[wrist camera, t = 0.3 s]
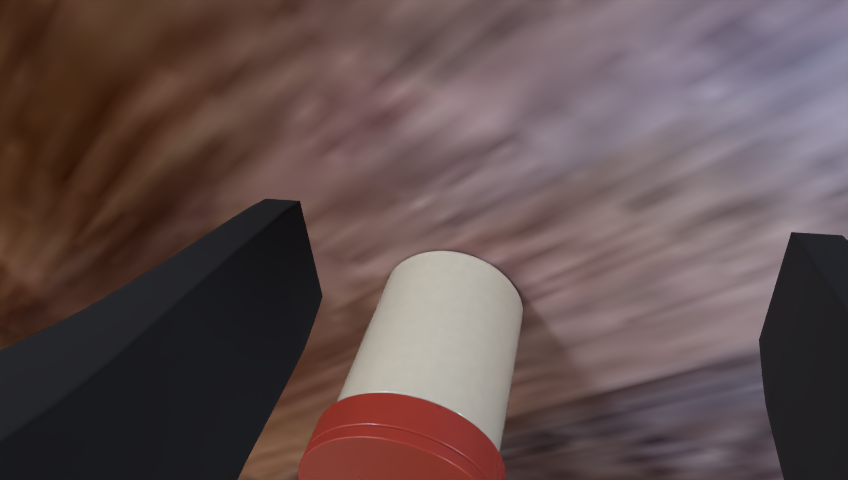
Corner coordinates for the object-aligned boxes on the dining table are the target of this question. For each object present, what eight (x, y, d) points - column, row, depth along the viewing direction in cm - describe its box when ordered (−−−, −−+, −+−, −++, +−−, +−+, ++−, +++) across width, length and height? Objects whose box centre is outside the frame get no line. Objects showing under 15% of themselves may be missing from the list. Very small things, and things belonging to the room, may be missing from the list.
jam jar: (546, 338, 25) (522, 531, 19) (428, 365, 27) (374, 542, 21) (482, 232, 22) (432, 414, 17) (359, 272, 25) (278, 442, 19)
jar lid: (539, 504, 20) (534, 554, 18) (382, 520, 22) (369, 564, 21) (444, 374, 17) (431, 422, 16) (279, 410, 20) (258, 452, 19)
